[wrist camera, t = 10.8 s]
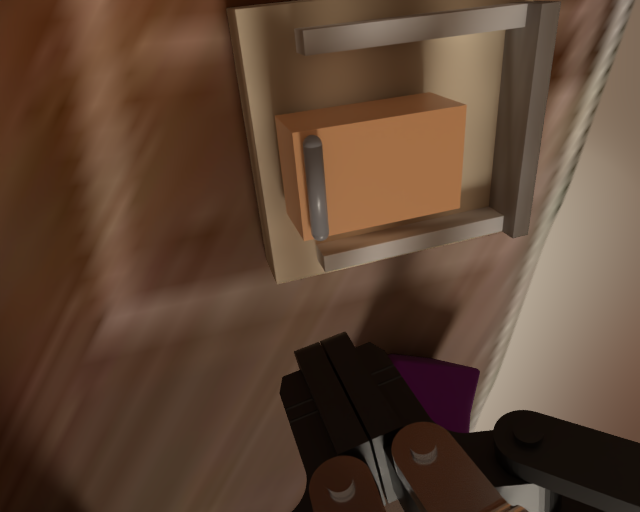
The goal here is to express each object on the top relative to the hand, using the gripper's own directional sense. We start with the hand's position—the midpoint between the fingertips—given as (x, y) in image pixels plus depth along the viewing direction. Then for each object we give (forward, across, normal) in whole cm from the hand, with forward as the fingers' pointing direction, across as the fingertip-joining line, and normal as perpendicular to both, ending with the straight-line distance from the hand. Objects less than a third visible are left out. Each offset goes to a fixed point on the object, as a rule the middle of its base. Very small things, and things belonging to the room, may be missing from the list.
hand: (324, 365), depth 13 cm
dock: (+16, -9, 0) cm, 18 cm away
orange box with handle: (+13, -6, -1) cm, 15 cm away
